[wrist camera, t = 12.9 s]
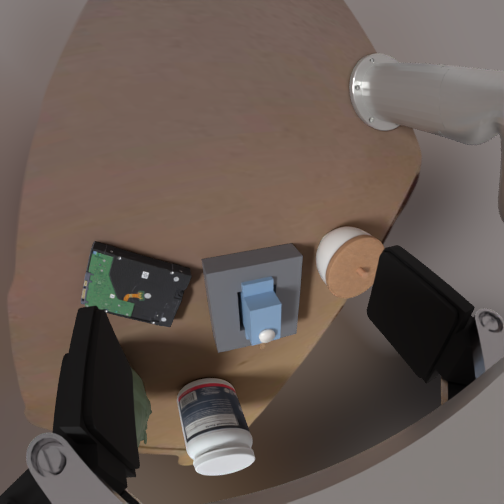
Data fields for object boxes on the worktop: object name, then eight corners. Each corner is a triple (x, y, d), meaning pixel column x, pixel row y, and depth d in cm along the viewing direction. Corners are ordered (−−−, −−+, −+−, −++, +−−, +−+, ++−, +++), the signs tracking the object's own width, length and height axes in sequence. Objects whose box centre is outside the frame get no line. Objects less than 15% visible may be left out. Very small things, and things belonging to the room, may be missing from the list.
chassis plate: (291, 243, 46) (302, 255, 43) (287, 319, 54) (296, 333, 51) (201, 259, 43) (206, 274, 39) (213, 336, 51) (218, 352, 47)
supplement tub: (230, 404, 63) (253, 470, 48) (176, 409, 59) (191, 479, 44) (237, 371, 58) (266, 447, 42) (175, 376, 53) (191, 458, 38)
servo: (234, 267, 45) (250, 302, 38) (262, 262, 46) (283, 295, 39) (239, 327, 51) (254, 362, 44) (263, 321, 52) (281, 355, 45)
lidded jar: (322, 208, 45) (357, 235, 37) (368, 225, 49) (402, 250, 41) (295, 267, 49) (321, 301, 41) (341, 276, 53) (370, 307, 45)
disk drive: (190, 264, 43) (93, 238, 37) (192, 275, 41) (89, 248, 34) (169, 316, 47) (82, 296, 40) (171, 328, 44) (79, 308, 38)
